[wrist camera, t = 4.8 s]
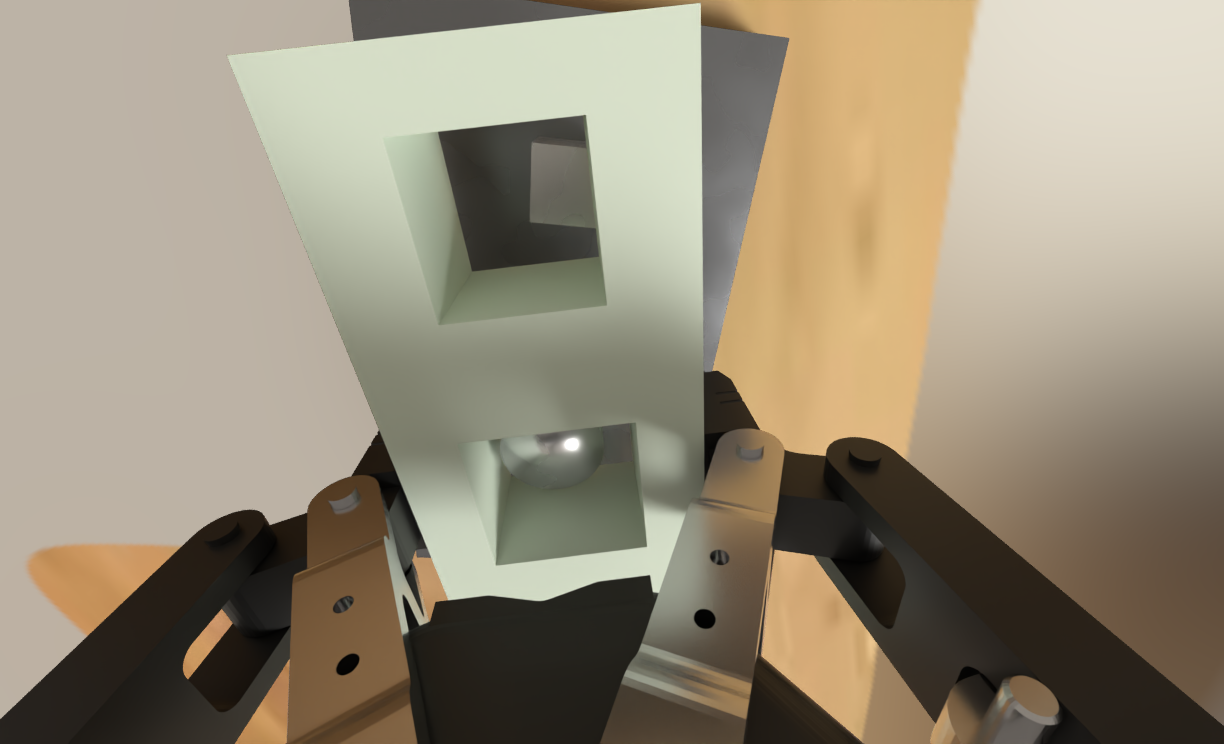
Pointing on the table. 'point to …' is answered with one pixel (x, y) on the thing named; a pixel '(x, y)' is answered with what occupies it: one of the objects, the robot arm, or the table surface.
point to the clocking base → (510, 155)
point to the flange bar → (510, 281)
